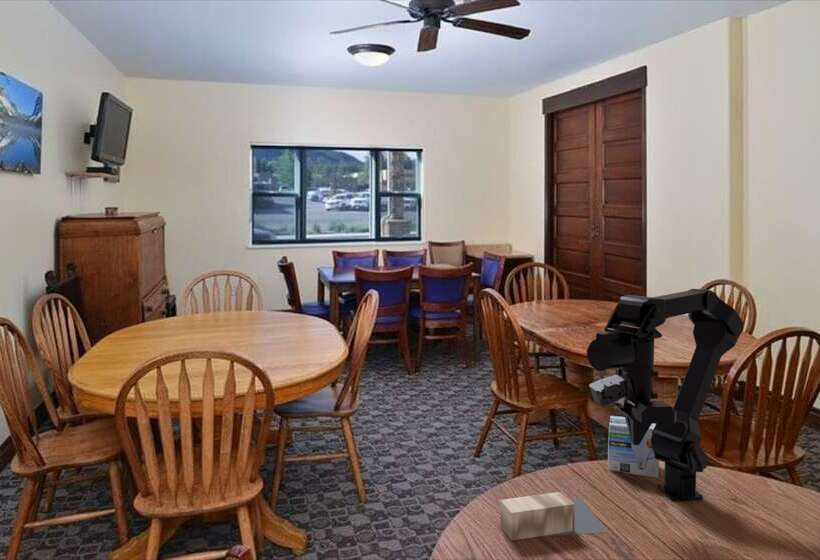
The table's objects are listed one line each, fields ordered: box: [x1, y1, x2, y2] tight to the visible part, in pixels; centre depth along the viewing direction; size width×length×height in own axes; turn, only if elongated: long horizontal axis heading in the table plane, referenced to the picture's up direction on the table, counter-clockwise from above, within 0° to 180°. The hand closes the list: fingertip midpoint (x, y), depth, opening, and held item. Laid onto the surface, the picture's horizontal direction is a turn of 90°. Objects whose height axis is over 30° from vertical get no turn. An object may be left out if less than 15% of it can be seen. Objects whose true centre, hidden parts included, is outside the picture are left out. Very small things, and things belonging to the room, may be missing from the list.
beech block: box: [499, 491, 575, 541], centre depth 107 cm, size 5×5×12 cm
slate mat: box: [543, 498, 608, 537], centre depth 112 cm, size 13×16×1 cm
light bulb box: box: [607, 415, 660, 478], centre depth 132 cm, size 11×7×11 cm, turn 70°
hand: (635, 444), depth 113 cm, fingers closed
